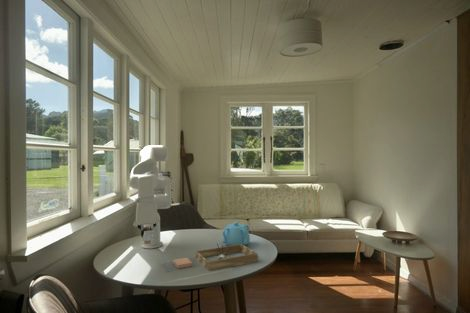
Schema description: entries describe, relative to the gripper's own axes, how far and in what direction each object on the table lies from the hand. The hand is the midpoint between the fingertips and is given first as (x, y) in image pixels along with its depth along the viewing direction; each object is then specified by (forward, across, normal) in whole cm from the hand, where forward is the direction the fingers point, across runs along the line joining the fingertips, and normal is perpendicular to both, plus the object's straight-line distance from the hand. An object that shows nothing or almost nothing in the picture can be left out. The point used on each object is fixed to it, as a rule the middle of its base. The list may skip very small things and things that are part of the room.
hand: (147, 237), depth 144 cm
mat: (+14, +14, -8) cm, 21 cm away
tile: (+12, +15, -5) cm, 20 cm away
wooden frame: (+14, +37, -12) cm, 41 cm away
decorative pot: (+14, +53, +9) cm, 56 cm away
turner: (-1, 0, -5) cm, 5 cm away
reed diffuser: (+14, +37, -10) cm, 41 cm away
